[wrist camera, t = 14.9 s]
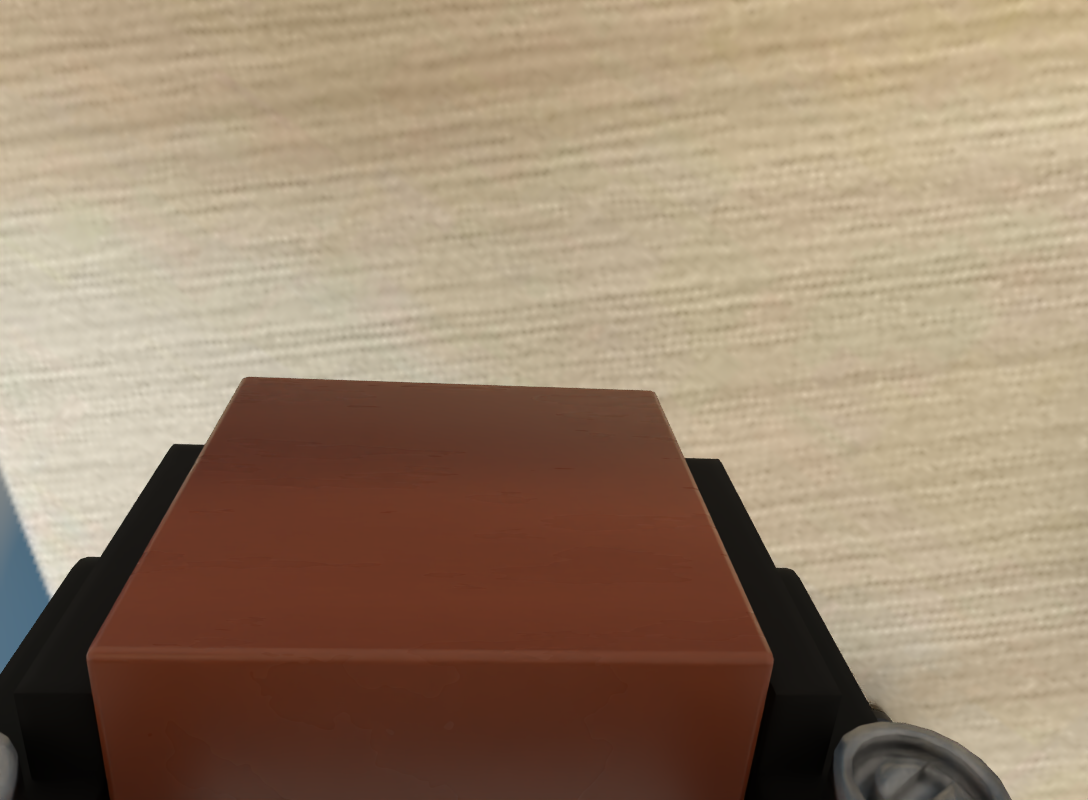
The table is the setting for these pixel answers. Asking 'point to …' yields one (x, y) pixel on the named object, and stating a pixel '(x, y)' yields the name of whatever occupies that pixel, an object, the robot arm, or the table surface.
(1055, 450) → the table surface
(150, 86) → the table surface
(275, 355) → the table surface
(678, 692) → the block
